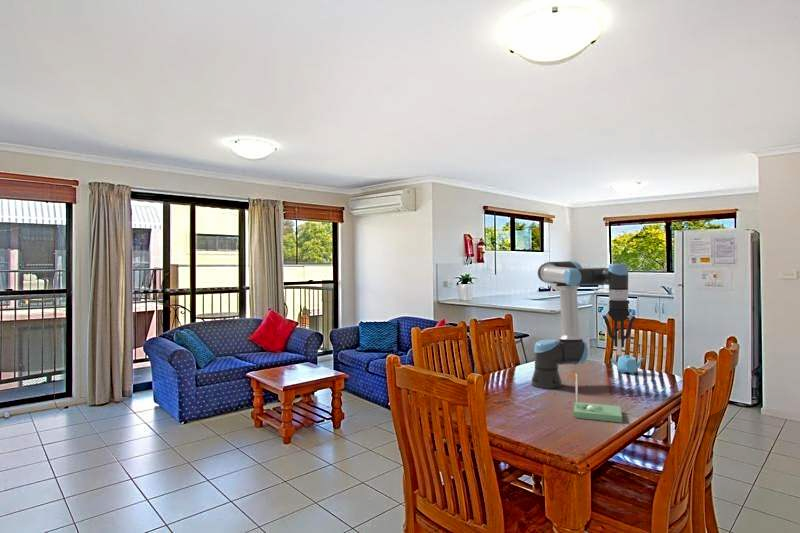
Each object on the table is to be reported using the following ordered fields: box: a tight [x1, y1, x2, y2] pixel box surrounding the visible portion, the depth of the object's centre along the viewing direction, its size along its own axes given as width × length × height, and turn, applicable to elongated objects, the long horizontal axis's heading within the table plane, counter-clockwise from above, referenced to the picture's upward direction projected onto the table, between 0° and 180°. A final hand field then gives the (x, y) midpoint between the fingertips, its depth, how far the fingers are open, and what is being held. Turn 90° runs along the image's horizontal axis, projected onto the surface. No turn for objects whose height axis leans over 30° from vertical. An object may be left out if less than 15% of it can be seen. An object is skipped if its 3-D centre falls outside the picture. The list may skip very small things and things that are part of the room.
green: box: [567, 372, 623, 423], centre depth 195 cm, size 21×14×16 cm
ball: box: [587, 405, 596, 410], centre depth 195 cm, size 4×4×4 cm
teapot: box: [610, 354, 645, 375], centre depth 268 cm, size 18×14×10 cm
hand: (619, 354), depth 198 cm, fingers closed
